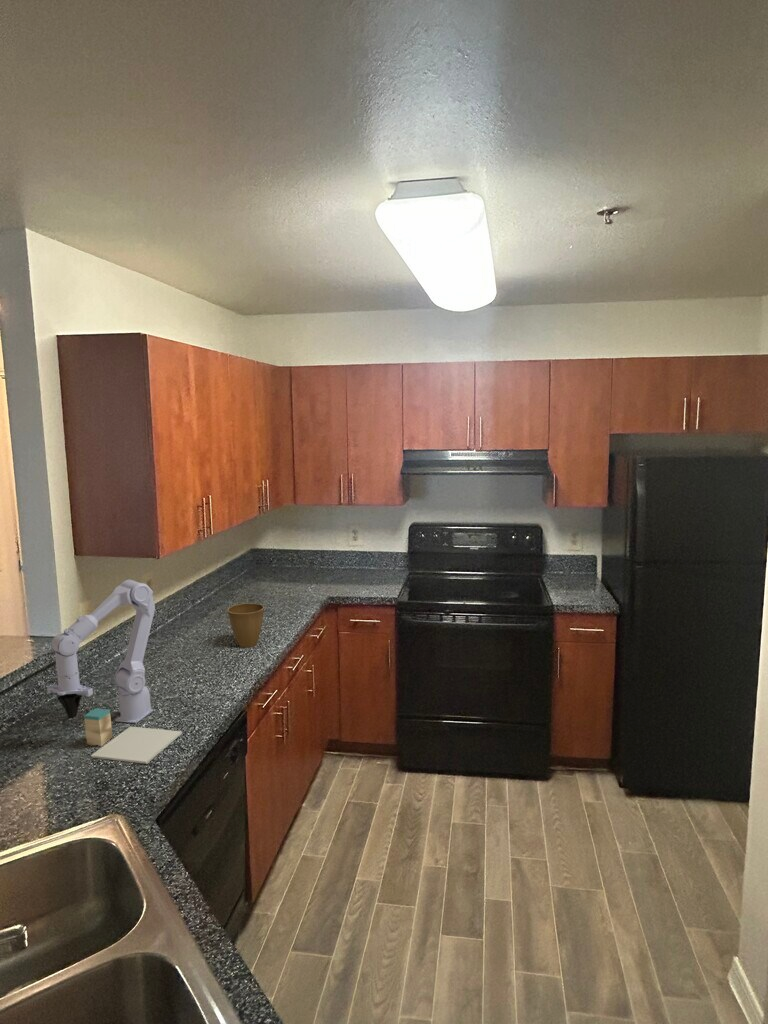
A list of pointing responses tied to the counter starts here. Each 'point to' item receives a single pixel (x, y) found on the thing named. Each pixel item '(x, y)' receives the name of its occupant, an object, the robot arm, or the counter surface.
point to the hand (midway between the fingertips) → (72, 716)
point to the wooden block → (98, 727)
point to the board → (137, 745)
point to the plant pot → (246, 623)
